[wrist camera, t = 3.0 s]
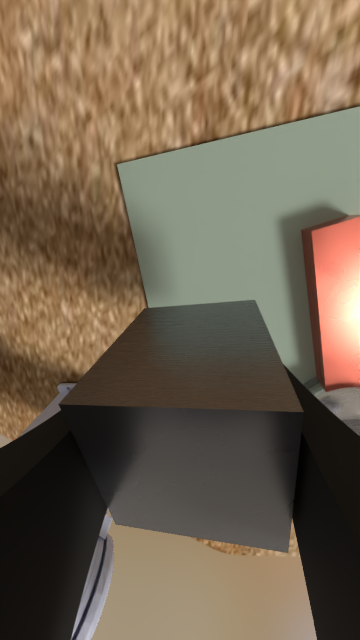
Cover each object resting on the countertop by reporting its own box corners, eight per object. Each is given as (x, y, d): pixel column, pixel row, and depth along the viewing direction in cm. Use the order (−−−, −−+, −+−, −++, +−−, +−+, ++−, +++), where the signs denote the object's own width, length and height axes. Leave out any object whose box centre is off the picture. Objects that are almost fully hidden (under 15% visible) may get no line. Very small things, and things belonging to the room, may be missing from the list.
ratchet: (383, 429, 19) (443, 506, 14) (296, 434, 21) (320, 503, 16) (393, 201, 12) (516, 188, 7) (264, 240, 14) (288, 253, 9)
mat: (175, 424, 24) (174, 427, 23) (119, 165, 14) (117, 164, 14) (390, 434, 19) (393, 439, 19) (523, 70, 10) (534, 64, 9)
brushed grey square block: (163, 390, 12) (115, 524, 7) (144, 308, 10) (58, 404, 5) (255, 391, 11) (287, 552, 6) (255, 299, 9) (303, 411, 4)
